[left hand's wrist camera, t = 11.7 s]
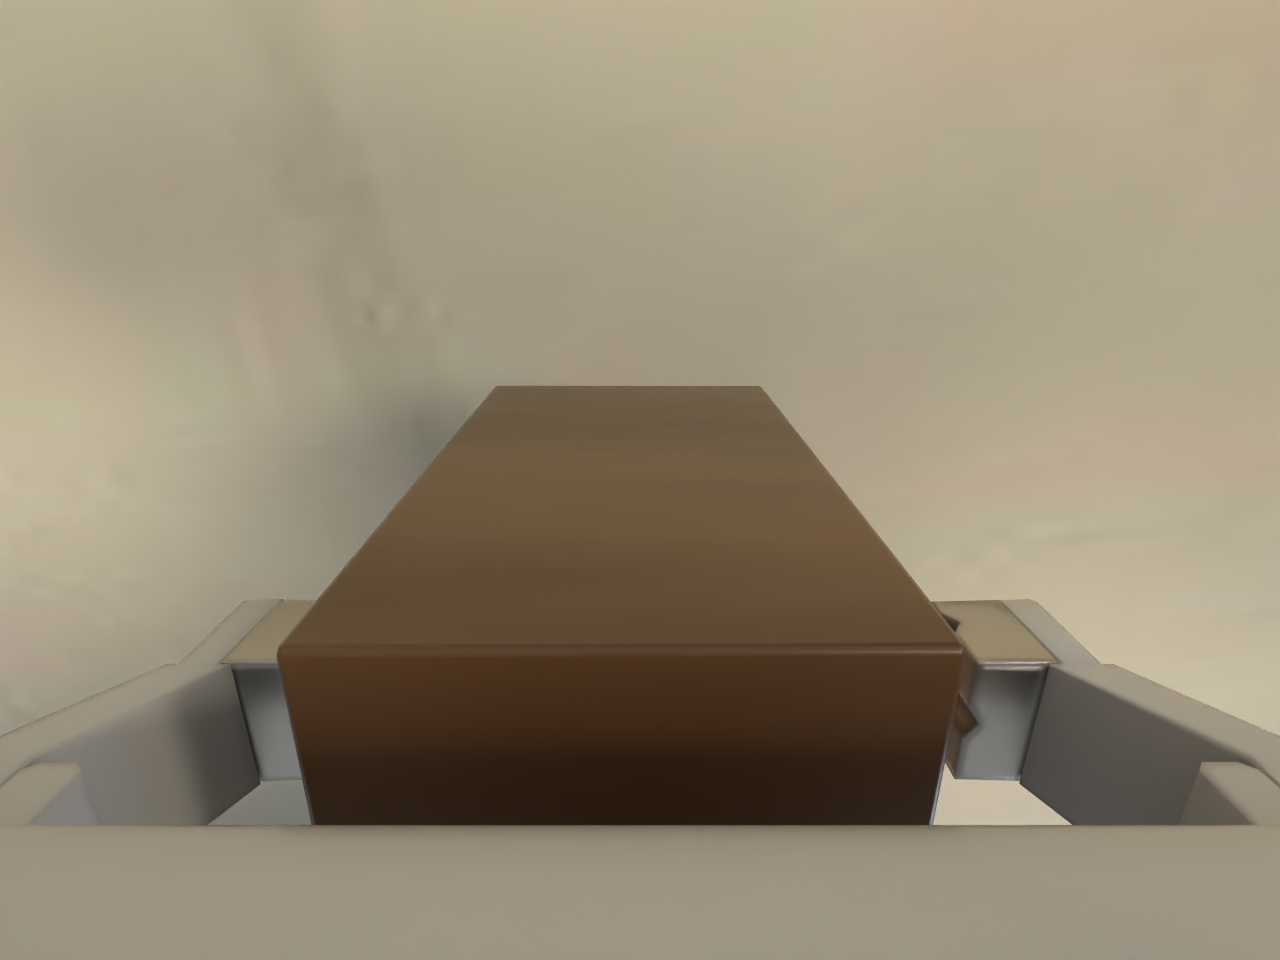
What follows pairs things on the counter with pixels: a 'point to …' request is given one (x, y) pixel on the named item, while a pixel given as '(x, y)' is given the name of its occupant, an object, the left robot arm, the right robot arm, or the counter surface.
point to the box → (623, 632)
